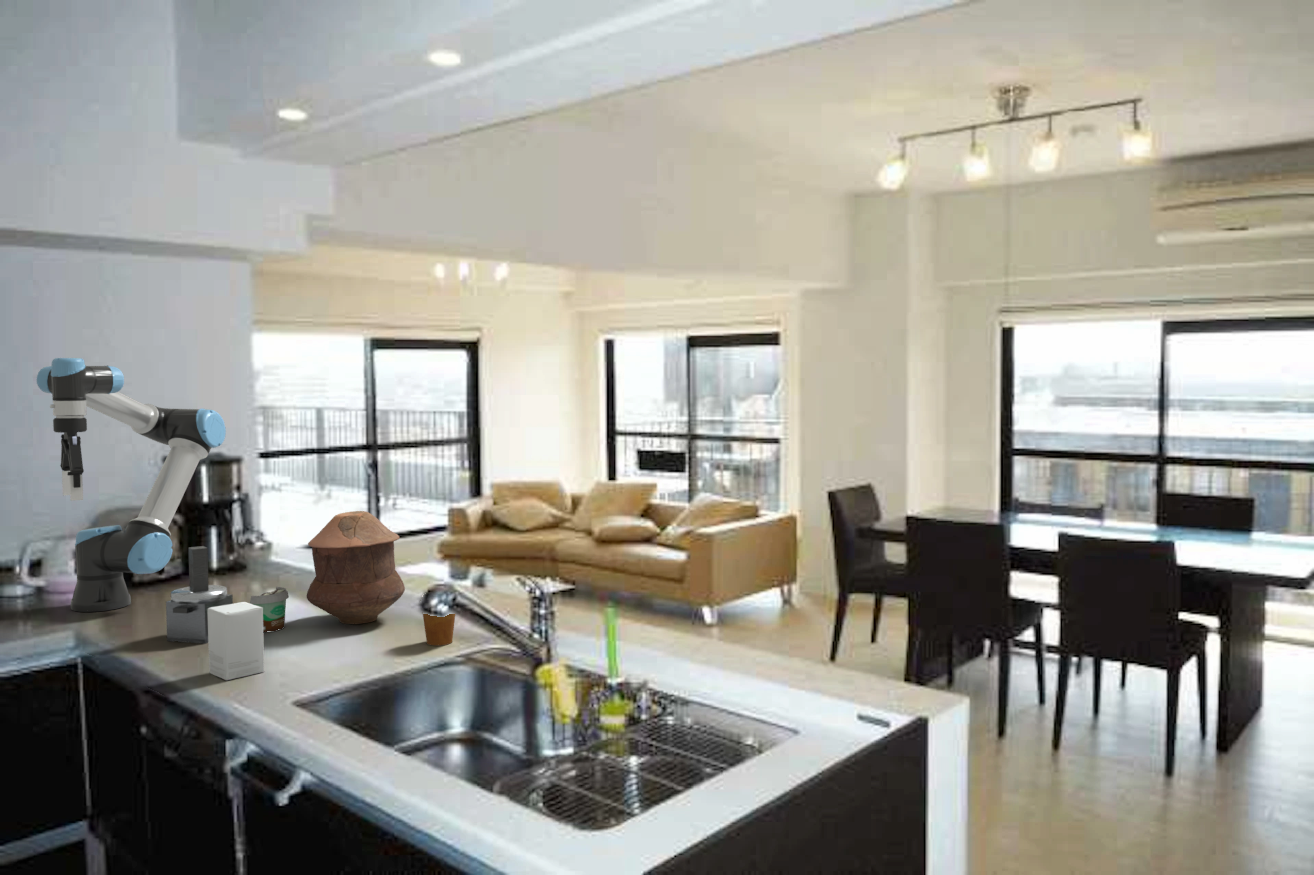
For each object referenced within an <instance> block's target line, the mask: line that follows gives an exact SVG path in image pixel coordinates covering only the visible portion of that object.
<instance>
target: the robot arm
mask: <svg viewBox="0 0 1314 875" xmlns="http://www.w3.org/2000/svg"><path fill="white" fill-rule="evenodd" d="M36 384H37V387H38V388H39V389H40V390H41V391H42V392H44V393H46V394H52V396H51V397H52V404H50V405H49V408H50V409H52V414H53V415H52V416H54V418H53V420H52V422H53V423H52V424H53V425H52V426H53V428H52V429H53V431H54V433H58V434H59V433H61V435H60V438H61V439H60V445H61V448H60V465H59V466H60V469H61V470H62V471H61V478H62V480H61V481H62V482H61V484H62V496H63V497H64V496H70V501H71V502H72V501H84V490H83V489H84V488H83V485H84V484H83V474H84V471H85V470H84V466H83V464H84V463H83V456H82V447H81V444H82V441H81V436H80V435H78V433H85V432H86V431H87V430H88V422H87V417H85V416H86V415H87V407H88V408H90V409H93V410H94V411H96V412H99V413H101V414H103V415H105V416H107V417H109V418H111V419H113V420H115V421H118V422H121V423H122V424H124V425H127V426H129V427H131V429H132V431H133V432H134V433H136V434H139V435H141V436H142V437H145V438H148V439H150V440H152V441H155V442H157V443H159V444H163V445H166V446H169V447H170V450H169V452H168V454H167V456H166V457H165V460H164V462H163V465H162V466H161V469H160V470H159V472H158V475H157V477H156V479H155V481H154V483H153V484H152V487H151V489H150V492H148V493H149V494H148V495H147V497H146V499H145V501H144V504H142V507H141V510H140V512H139V513H138V516H137V517H136V518H133V519H130V520H129V521H128V523H127V525H126V527H125V529H124V531H123V528H122V526H121V525H120V524H114V525H106V526H98V527H92V528H91V527H90V528H86V529H82V530H79V531H78V532H77V533H76V535H75V544H74V547H75V548H74V550H75V564H76V565H75V566H76V568H75V569H76V583H75V587H74V591H73V594H72V598H71V599H70V610H71V611H73V612H80V613H92V612H93V613H94V612H95V613H96V612H104V611H113V610H116V609H121V608H124V607H128V606H130V605H131V604H132V602H131V601H132V600H131V594H130V592H129V590H128V587H127V584H126V581H125V579H124V573H127V574H128V573H129V574H136V575H137V574H138V575H144V574H145V575H146V574H154V573H157V572H159V571H161V570H163V568H165V567H166V566H167V564H168V563H169V562H170V560H171V558H172V554H173V548H172V547H173V541H172V540H171V535H172V533H171V531H170V529H169V527H170V525H171V522H172V521H173V518H174V517H175V514H176V511H177V510H178V507H179V506H180V504H181V502H182V499H183V497H184V494H185V492H186V491H187V488H188V486H189V484H190V481H191V480H192V478H193V476H194V473H195V471H196V468H197V466H198V465H199V462H200V460H203V459H206V458H207V457H208V456H209V454H210V451H211V449H212V448H213V449H214V448H215V449H216V448H218V447H220V446H221V445H223V443H224V441H225V438H226V432H227V431H226V424H225V420H224V419H223V416H222V415H221V414H220V413H218V411H216V410H213V409H207V408H206V409H205V408H196V409H195V408H166V407H159V406H156V405H155V404H152V403H142V402H140V401H138V400H136V399H134V398H131V397H130V396H128V395H125V394H124V393H122V392H120V391H121V390H122V388H123V387H124V385H125V376H124V374H123V372H122V370H121V369H120V368H118V367H116V366H110V365H86V364H85V360H84V358H82V357H79V358H77V357H75V358H74V357H55V358H53V359H52V360H51V366H45V367H42V368H40V370H38V373H37V374H36ZM62 433H63V434H62Z"/></svg>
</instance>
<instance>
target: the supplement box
mask: <svg viewBox="0 0 1314 875" xmlns="http://www.w3.org/2000/svg"><path fill="white" fill-rule="evenodd" d="M264 643H265V642H264V633H263V607H259V606H256V605H253V604H250V602H246V601H241V602H234V603H233V604H229V605H222V606H216V607H211V608H208V643H207V644H208V673H209V674H211V675H212V676H213V675H214V676H215V677H218V678H219V679H222V680H224V681H230V680H234V679H239V678H243V677H248V676H252V675H255V674H261V673H264V672H265V654H264V650H265V649H264Z"/></svg>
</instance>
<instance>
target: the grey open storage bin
mask: <svg viewBox="0 0 1314 875" xmlns="http://www.w3.org/2000/svg"><path fill="white" fill-rule="evenodd" d="M229 604H234V603H233V594H230V593H227V597H226V598H224V599H222V600H218V601H214V602H208V603H199V604H178V603H173V602H171V599H170V600H167V601H165V611H166V613H165V615H166V617H165V618H166V619H165V620H166V641H167V642H174V641H178V642H177V643H189V642H191V643H190V644H203V645H204V644H205V645H206V644H208V608H211V607H216V606H222V605H229Z"/></svg>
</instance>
